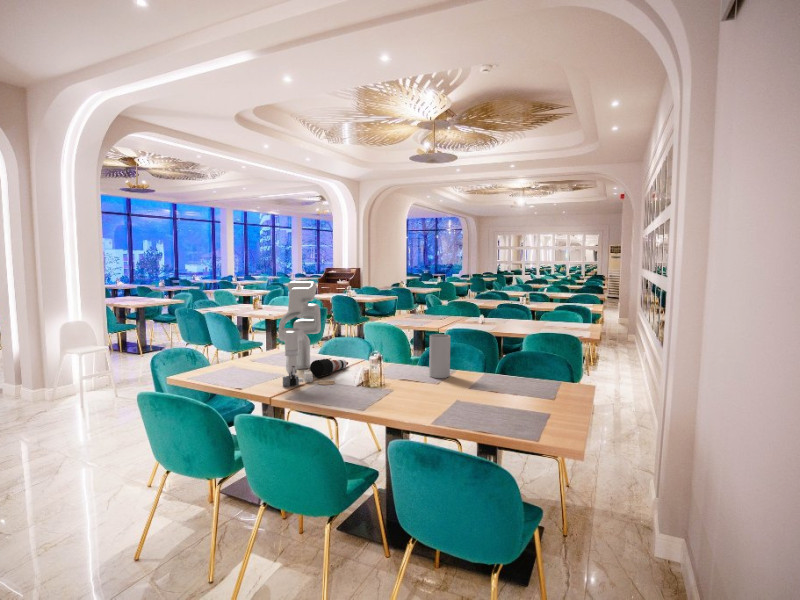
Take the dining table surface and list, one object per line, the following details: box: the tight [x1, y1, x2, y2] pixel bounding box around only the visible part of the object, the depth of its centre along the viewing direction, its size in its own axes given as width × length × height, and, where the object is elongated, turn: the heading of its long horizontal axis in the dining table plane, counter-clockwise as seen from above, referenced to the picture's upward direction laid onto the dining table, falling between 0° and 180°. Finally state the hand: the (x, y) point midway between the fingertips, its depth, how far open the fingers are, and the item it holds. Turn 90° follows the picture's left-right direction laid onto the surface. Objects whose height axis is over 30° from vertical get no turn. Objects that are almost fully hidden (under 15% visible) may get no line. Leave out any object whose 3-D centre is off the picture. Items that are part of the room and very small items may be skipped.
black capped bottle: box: [309, 358, 349, 378], centre depth 287 cm, size 10×34×10 cm, turn 151°
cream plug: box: [303, 369, 314, 383], centre depth 266 cm, size 11×4×5 cm, turn 21°
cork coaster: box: [317, 379, 336, 386], centre depth 262 cm, size 10×10×1 cm
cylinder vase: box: [428, 333, 451, 379], centre depth 277 cm, size 12×12×25 cm
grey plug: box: [282, 374, 304, 388], centre depth 257 cm, size 11×4×5 cm, turn 112°
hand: (292, 384), depth 257 cm, fingers open, 4 cm apart
